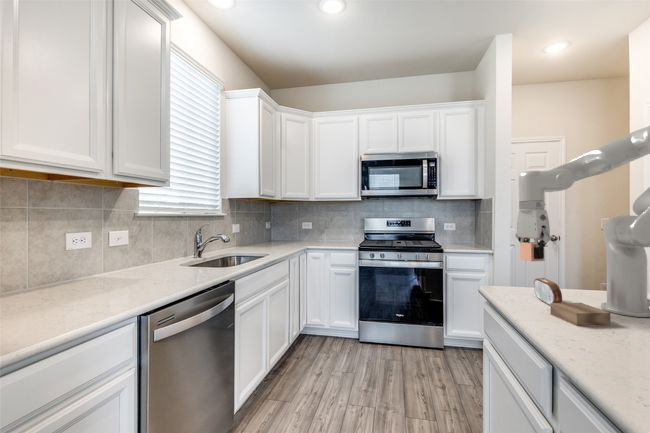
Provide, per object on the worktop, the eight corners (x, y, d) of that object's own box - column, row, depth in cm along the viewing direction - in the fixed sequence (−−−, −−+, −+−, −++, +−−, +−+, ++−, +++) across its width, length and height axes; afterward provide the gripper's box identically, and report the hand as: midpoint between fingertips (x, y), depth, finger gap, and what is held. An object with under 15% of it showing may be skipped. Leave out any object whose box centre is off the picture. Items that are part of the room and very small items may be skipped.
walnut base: (580, 314, 99) (580, 302, 99) (610, 326, 89) (610, 312, 89) (550, 315, 99) (550, 303, 99) (576, 327, 89) (576, 313, 89)
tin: (563, 309, 104) (563, 284, 104) (552, 309, 104) (552, 284, 104) (541, 297, 118) (541, 275, 118) (532, 297, 119) (532, 275, 119)
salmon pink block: (533, 258, 111) (532, 242, 111) (544, 260, 106) (544, 243, 106) (520, 259, 110) (520, 242, 110) (531, 261, 105) (531, 244, 105)
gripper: (562, 205, 100) (563, 260, 100) (523, 206, 117) (523, 254, 117) (541, 205, 99) (542, 261, 99) (504, 207, 116) (505, 254, 116)
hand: (532, 257), depth 108 cm, fingers closed on salmon pink block, 4 cm apart
